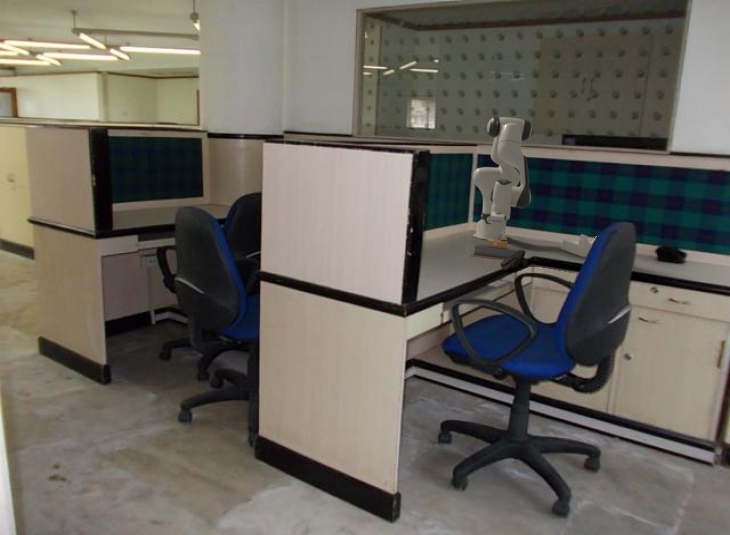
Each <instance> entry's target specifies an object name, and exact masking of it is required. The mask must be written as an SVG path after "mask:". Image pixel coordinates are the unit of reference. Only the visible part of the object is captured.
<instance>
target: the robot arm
mask: <svg viewBox="0 0 730 535" xmlns="http://www.w3.org/2000/svg"><path fill="white" fill-rule="evenodd" d="M486 127H487V128H486V129H487V130H486V131H487V135H488V136H489V137H491V138H494V139H493V142H492V147H491V151H490V152H491V153H490V158H491V161H493V163H495V164H496V165H499V166H498V167H491V166H490V167H488V166H484V167H479V168H478V167H477V168H476V169H475V170H474V172H473V174H472V182H473V184H474V185H475V187H477V188H478V189H479V191H480V193H481V195H482V212H481V214H480V220H478V222H477V225H476V233H474V234H472V236H473V237H474V238H478V239H483V240H487V241H488V240H489V239H490V240H494V243H493V245H498V240H499V241H508V237H507V234H506V230H507V228H506V227H507V221H509V220H510V217H511V207H512V208H518V209H525V208H526V207H528V206H529V205H530V203H531V199H532V194H531V189H530V179H529V178H530V177H529V168H528V158H527V156H525V155H524V153H523V151H522V142H524V141H527V140H529V138H530V137H531V135H532V129H533V128H532V123H531V121H529V120H527V119H521V118H518V117H508V116H507V117H506V116H505V117H504V116H492V117H491V118H490V119H489V121H488V122H487V126H486ZM518 185H520V186H518Z"/></svg>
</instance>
